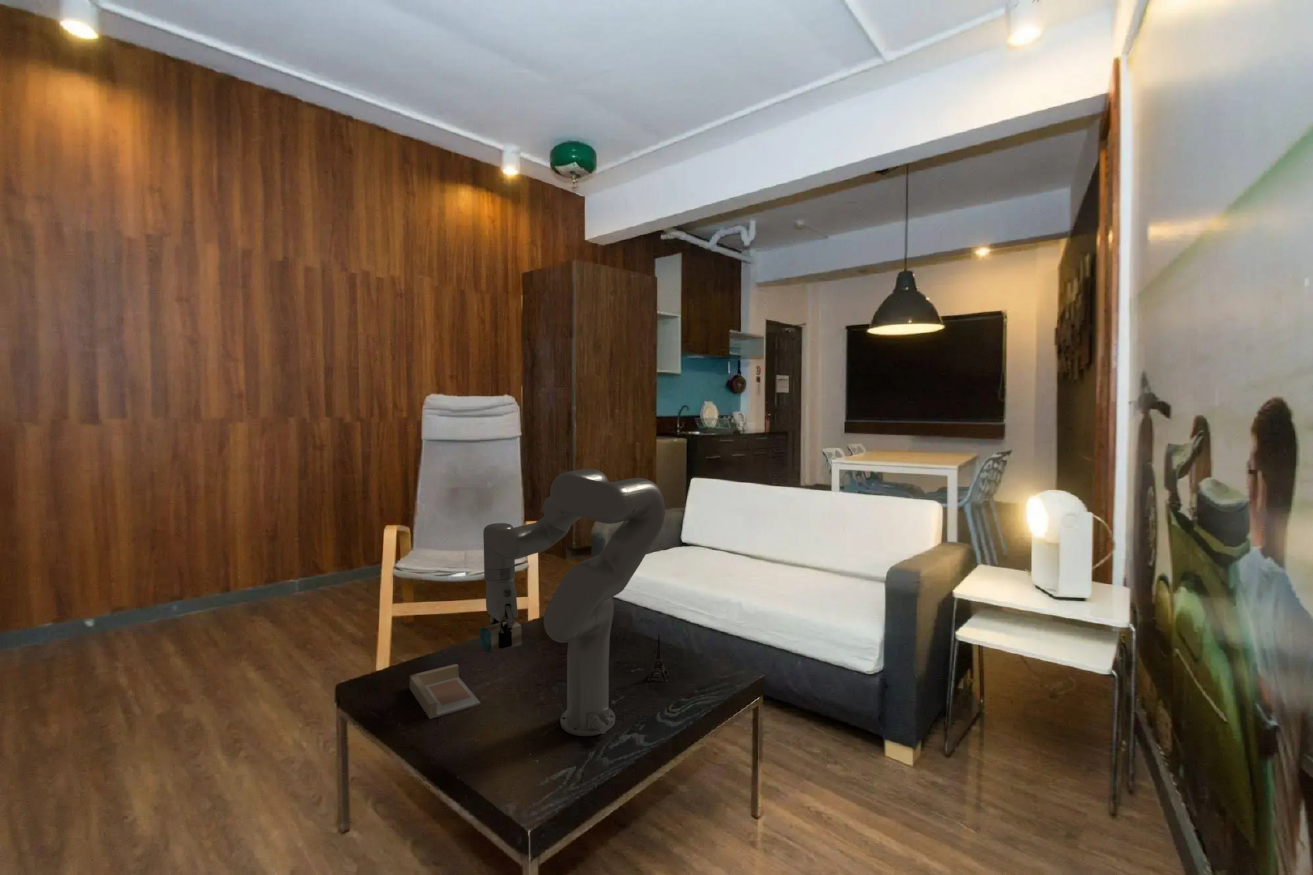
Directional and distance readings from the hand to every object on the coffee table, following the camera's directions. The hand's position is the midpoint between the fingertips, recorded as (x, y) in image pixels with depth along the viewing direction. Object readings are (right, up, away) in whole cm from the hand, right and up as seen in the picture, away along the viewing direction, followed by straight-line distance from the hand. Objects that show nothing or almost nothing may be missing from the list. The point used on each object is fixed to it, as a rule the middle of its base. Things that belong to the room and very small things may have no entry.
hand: (501, 643), depth 155 cm
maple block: (0, -1, 0) cm, 1 cm away
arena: (-14, -13, -2) cm, 19 cm away
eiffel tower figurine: (+40, -13, +10) cm, 44 cm away
